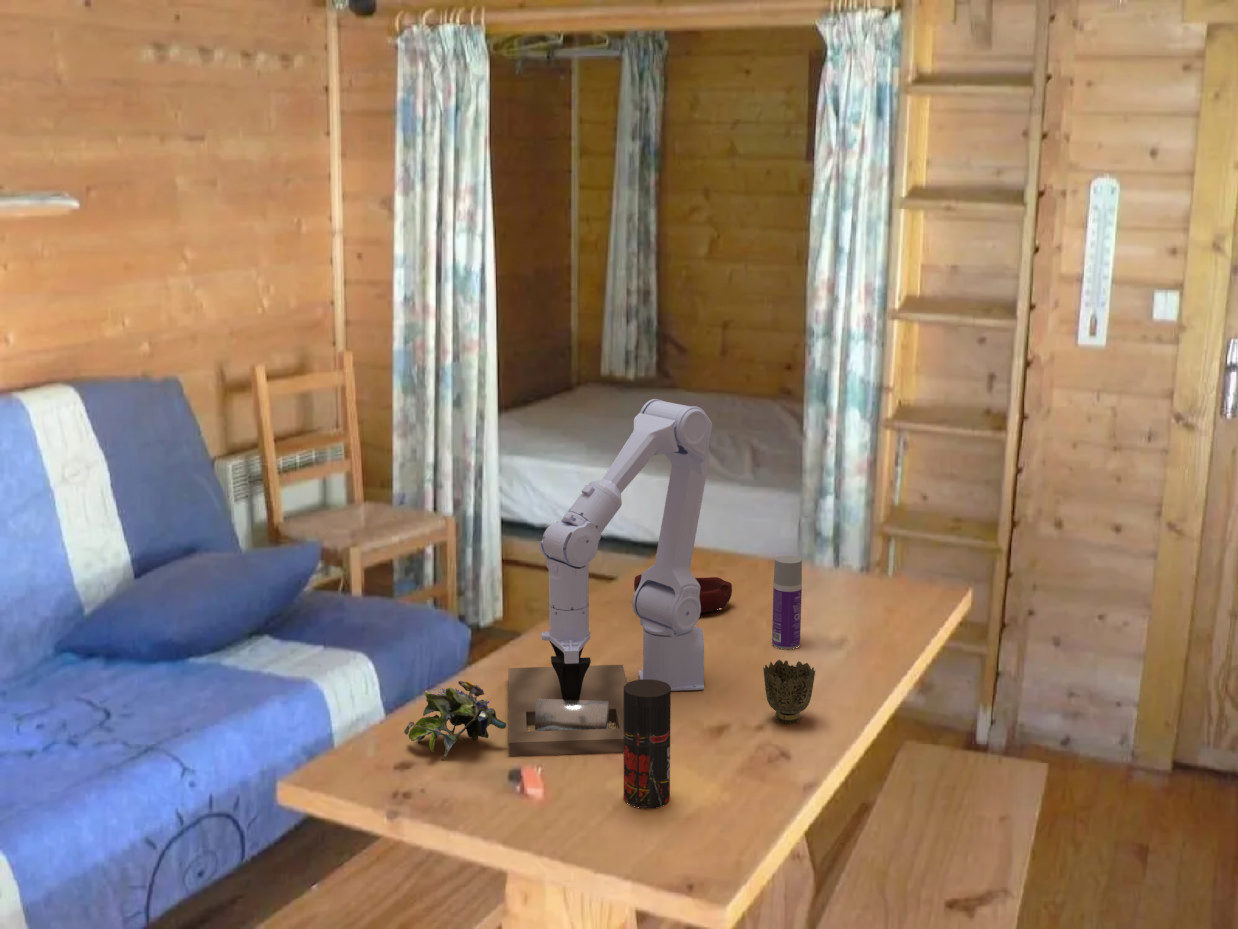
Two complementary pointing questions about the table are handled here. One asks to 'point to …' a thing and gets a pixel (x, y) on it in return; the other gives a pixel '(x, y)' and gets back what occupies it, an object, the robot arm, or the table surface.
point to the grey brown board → (545, 685)
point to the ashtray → (708, 592)
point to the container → (787, 602)
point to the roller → (571, 715)
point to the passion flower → (454, 716)
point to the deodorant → (647, 743)
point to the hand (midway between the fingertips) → (569, 692)
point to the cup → (788, 689)
